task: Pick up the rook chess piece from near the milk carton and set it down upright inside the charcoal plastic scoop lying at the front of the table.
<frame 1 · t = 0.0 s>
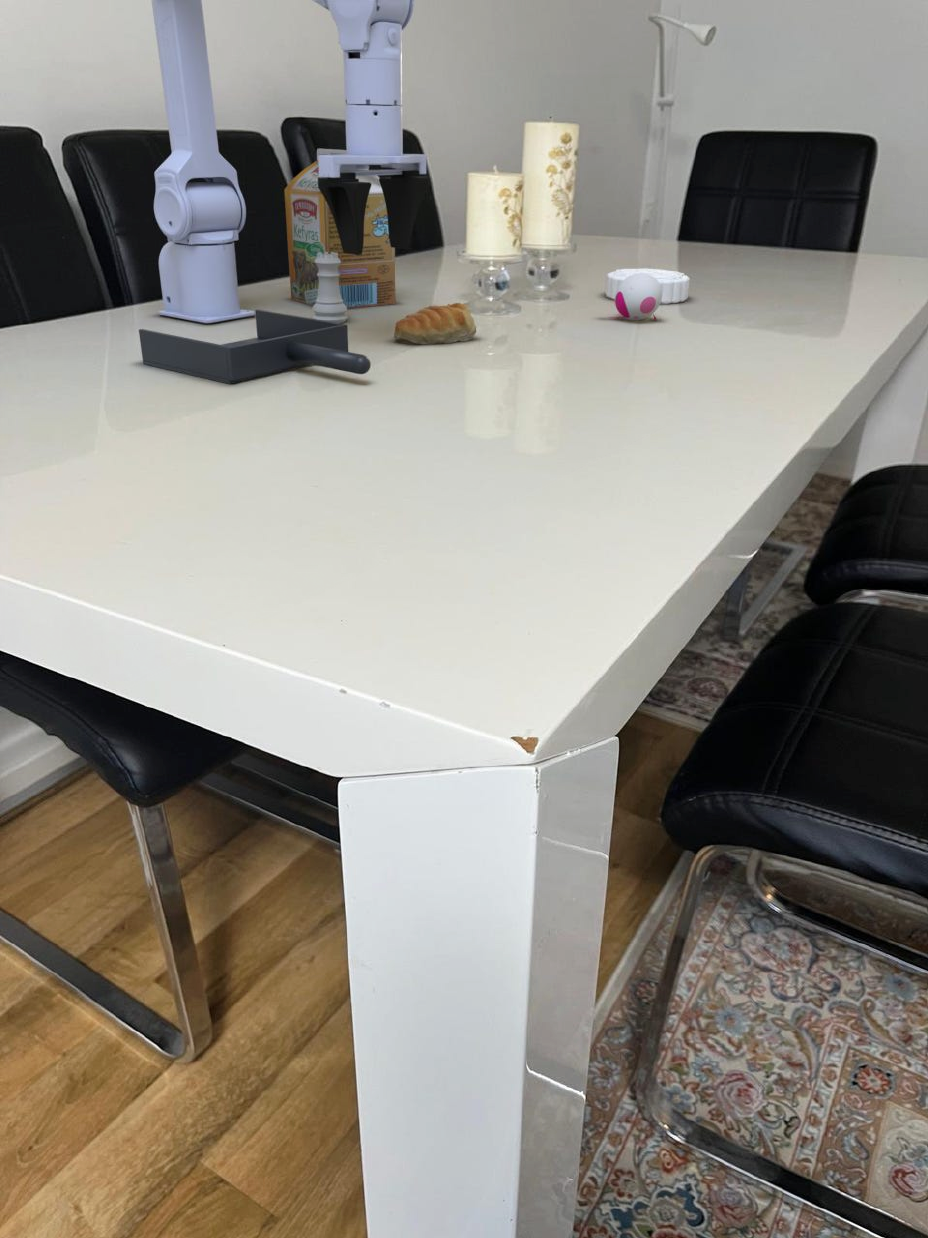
hand: (376, 250, 102), 10 cm above the table, tool pointing down, fingers open, 7 cm apart
pastry: (437, 340, 112), on the table
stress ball: (631, 321, 125), on the table
scoop: (246, 360, 100), on the table
rook chess piece: (330, 322, 121), on the table
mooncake: (645, 298, 142), on the table
milk carton: (343, 302, 134), on the table
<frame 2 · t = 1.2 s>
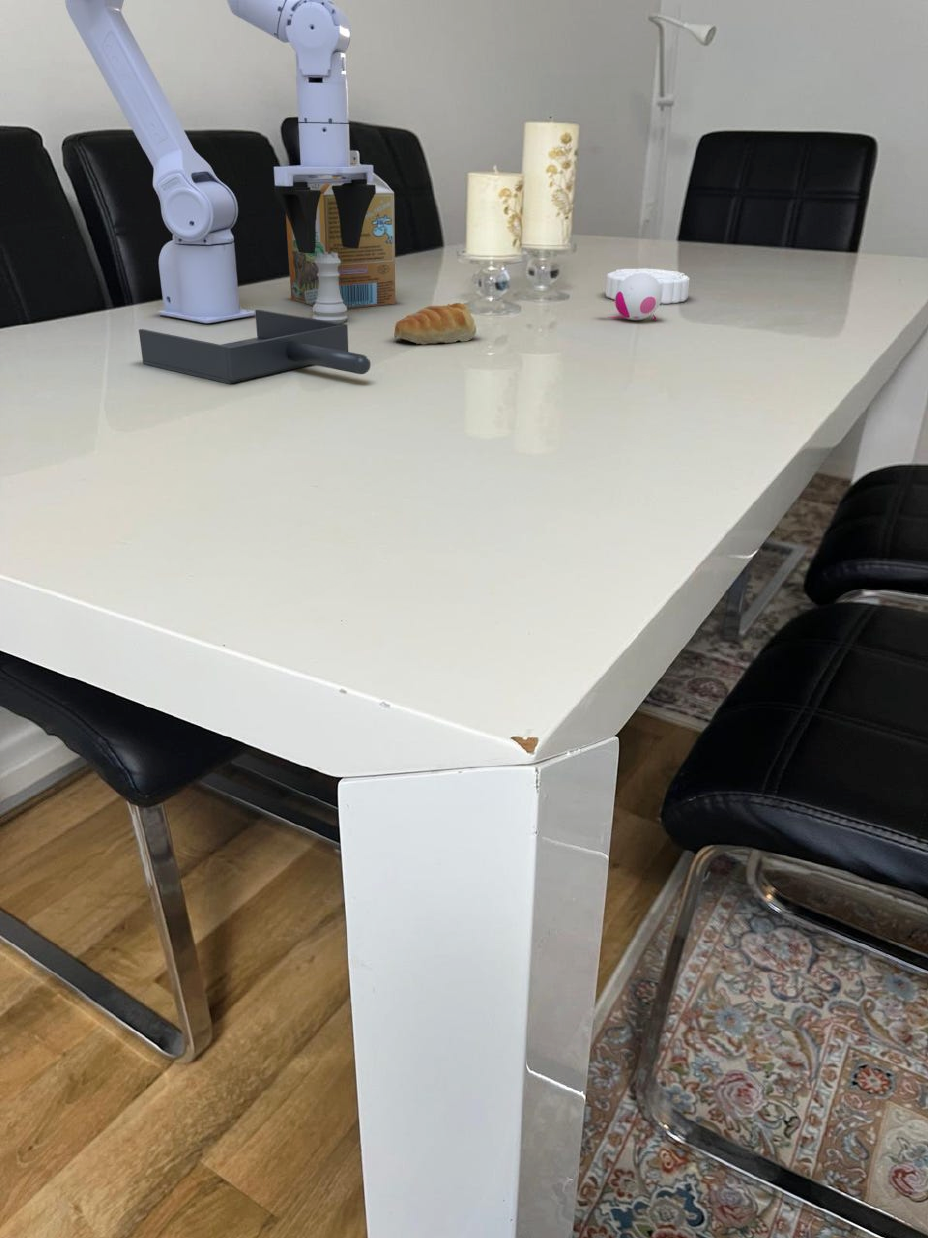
hand: (329, 249, 116), 8 cm above the table, tool pointing down, fingers open, 7 cm apart
nothing on the table moved.
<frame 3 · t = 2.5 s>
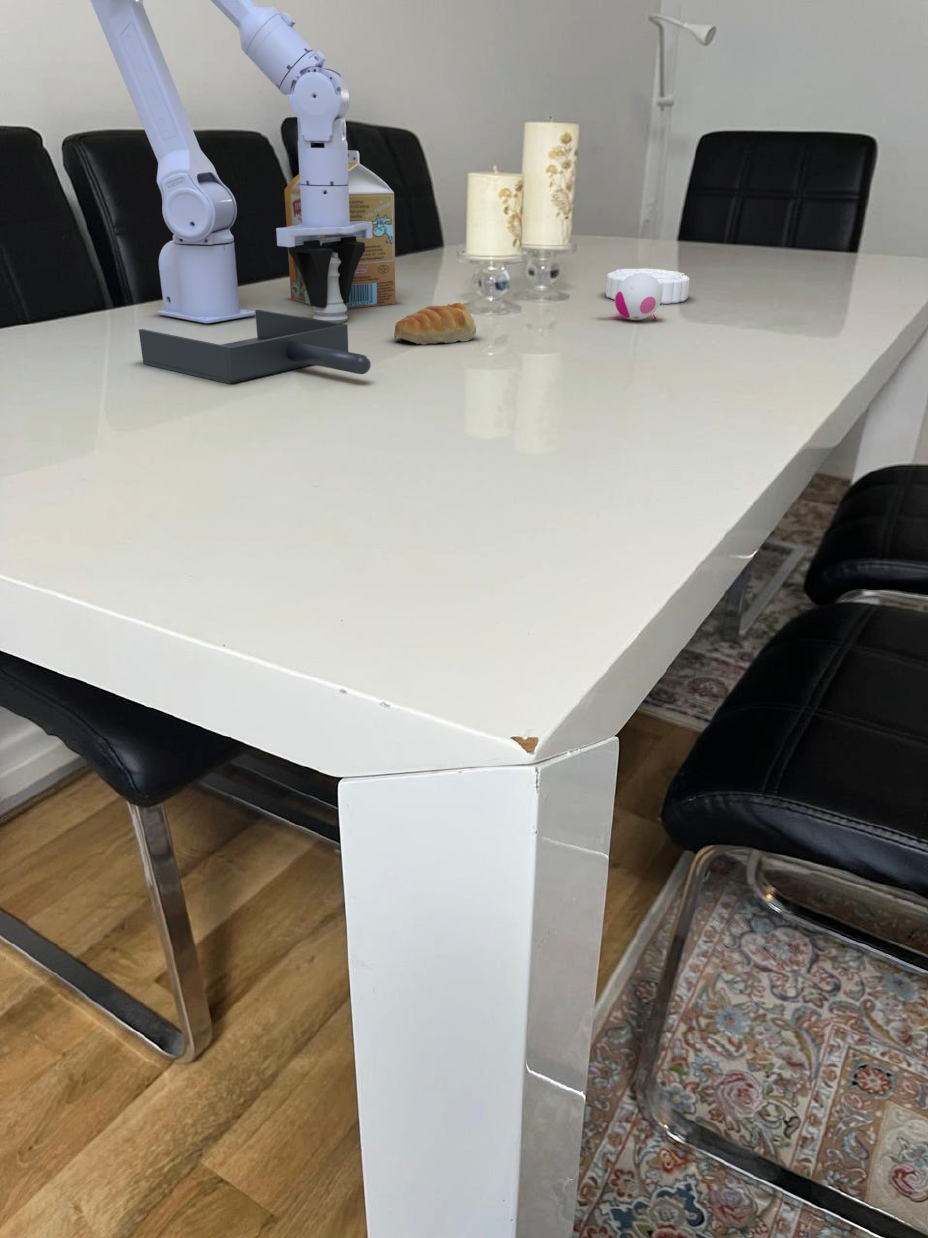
hand: (329, 304, 120), 2 cm above the table, tool pointing down, fingers closed on rook chess piece, 3 cm apart
rook chess piece: (330, 322, 121), on the table, touching gripper
everything else where it was.
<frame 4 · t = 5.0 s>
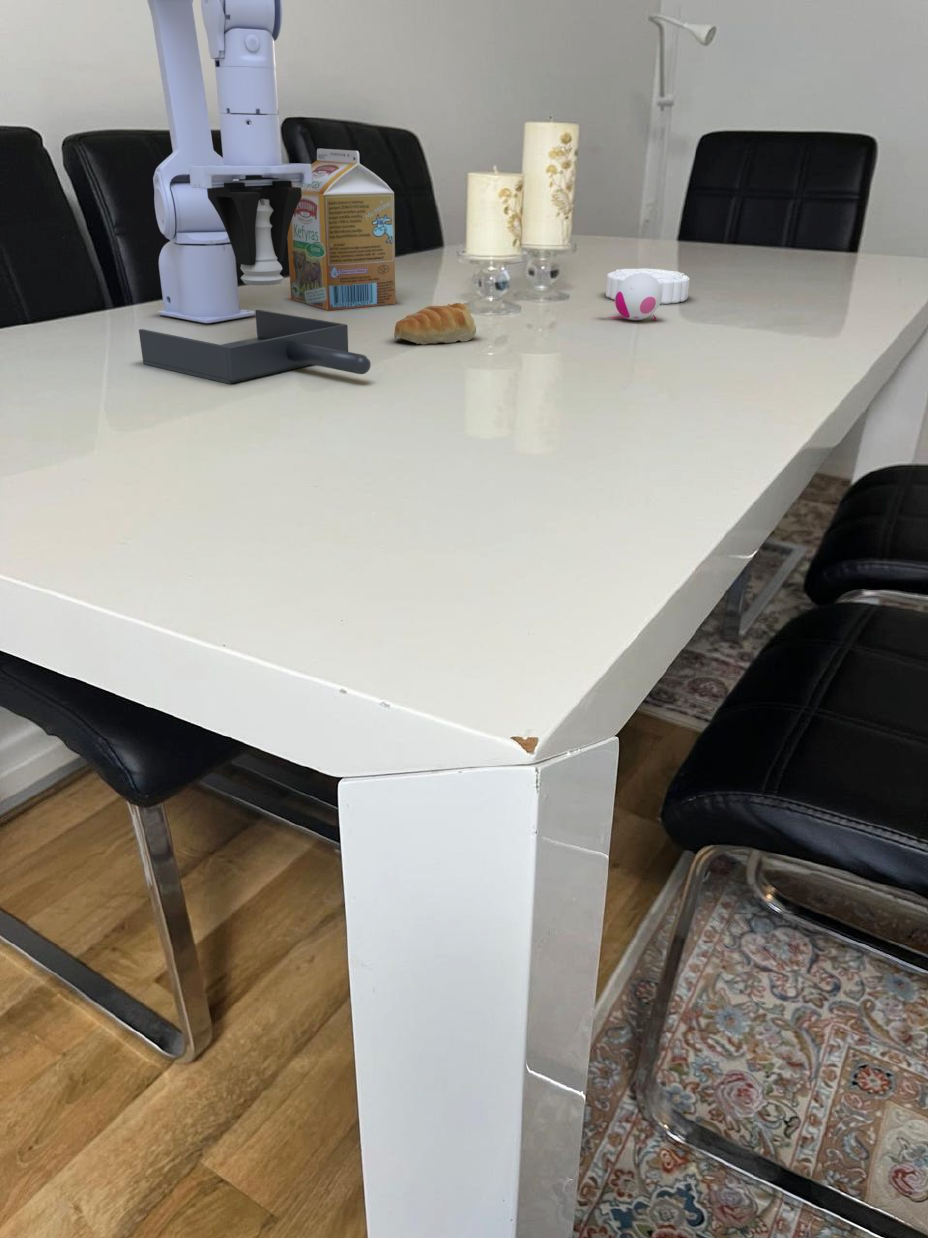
hand: (260, 262, 100), 9 cm above the table, tool pointing down, fingers closed on rook chess piece, 3 cm apart
rook chess piece: (262, 284, 101), point 7 cm above the table, touching gripper
everything else where it was.
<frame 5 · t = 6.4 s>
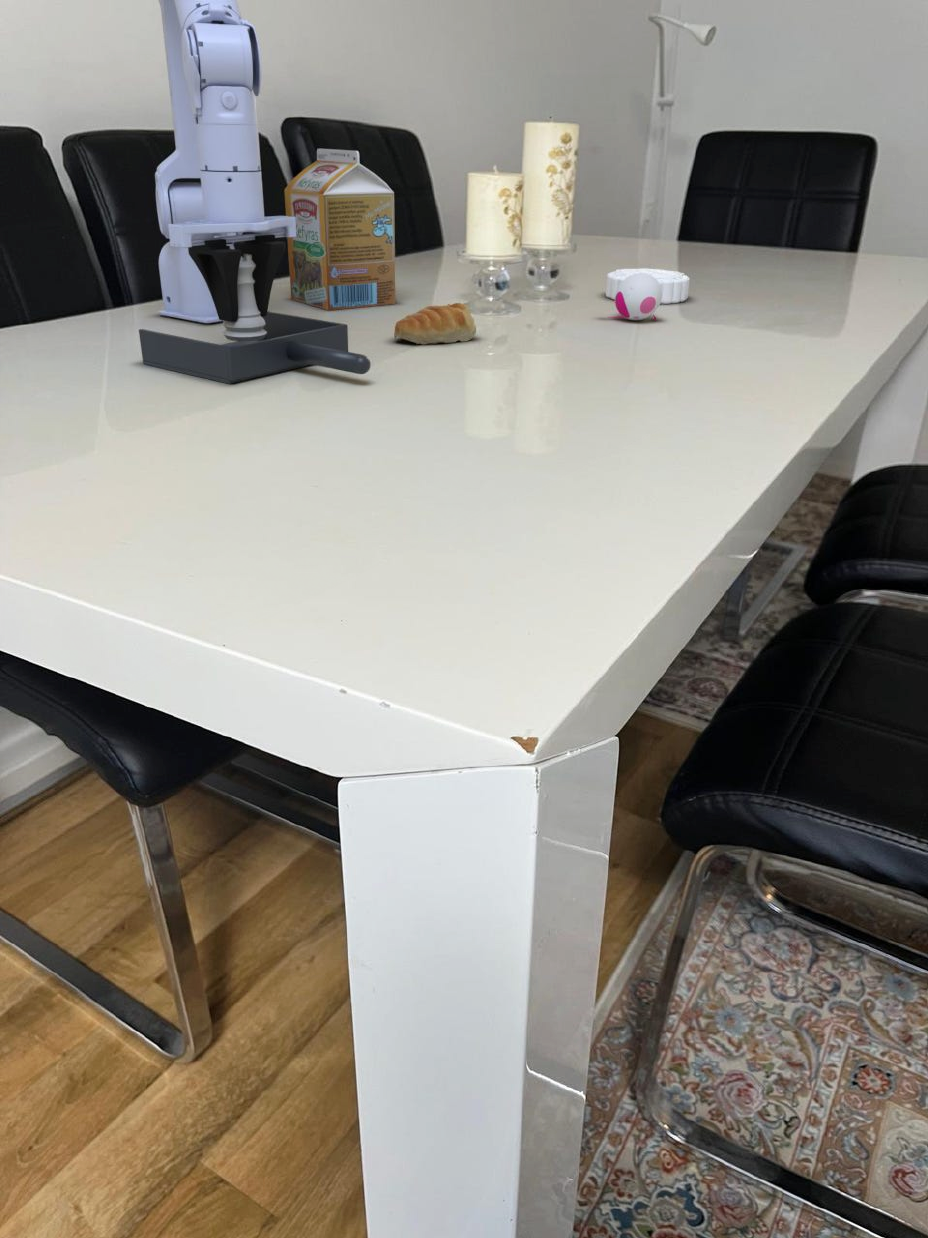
hand: (243, 317, 98), 4 cm above the table, tool pointing down, fingers closed on rook chess piece, 3 cm apart
rook chess piece: (245, 339, 99), point 2 cm above the table, touching gripper
everything else where it was.
when the fingers open (2 cm above the table, at t = 7.4 s): rook chess piece stays where it is, resting on scoop.
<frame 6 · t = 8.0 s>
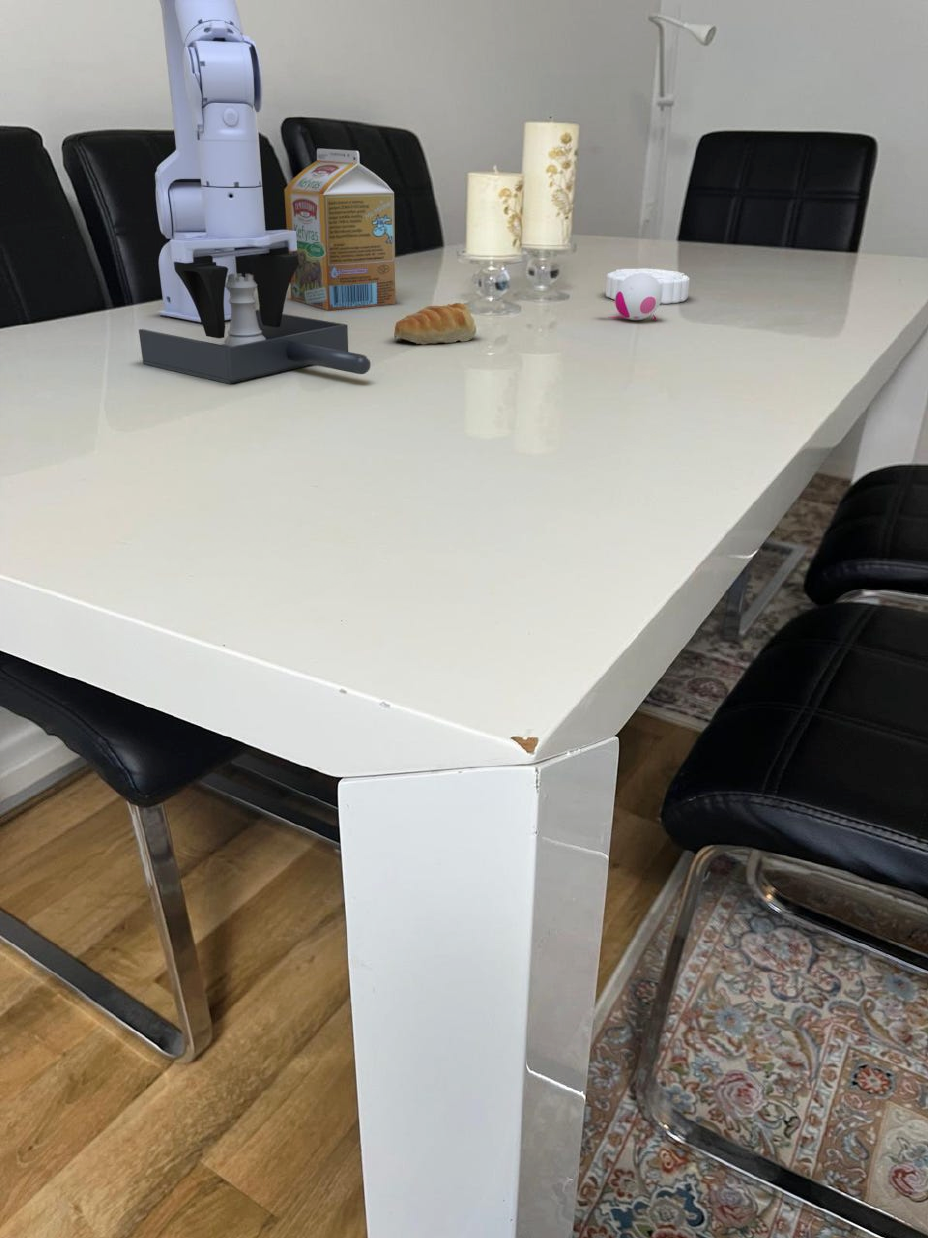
hand: (244, 331, 99), 3 cm above the table, tool pointing down, fingers open, 7 cm apart
rook chess piece: (247, 358, 100), resting on scoop
everything else where it was.
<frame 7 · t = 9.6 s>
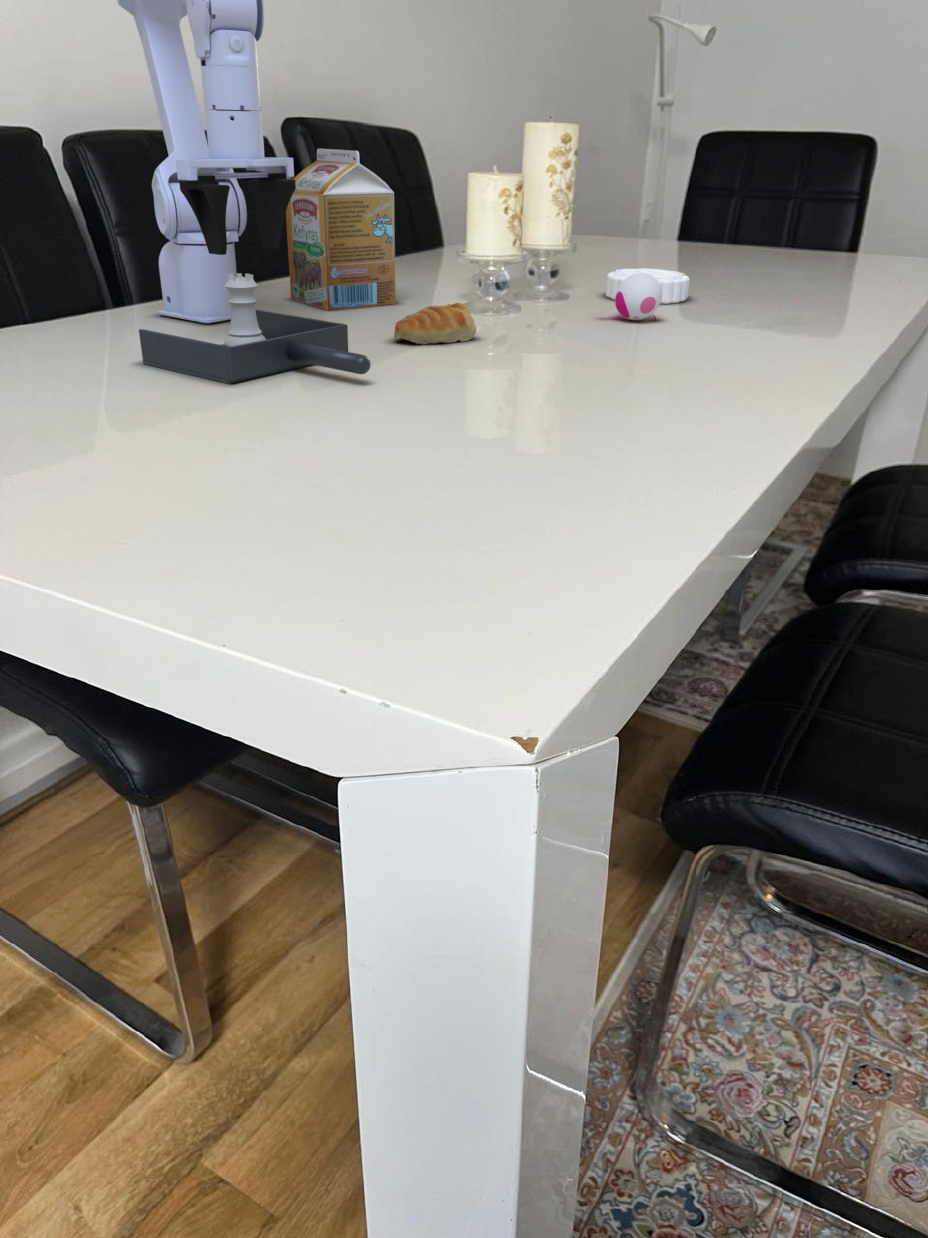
hand: (244, 251, 106), 9 cm above the table, tool pointing down, fingers open, 7 cm apart
nothing on the table moved.
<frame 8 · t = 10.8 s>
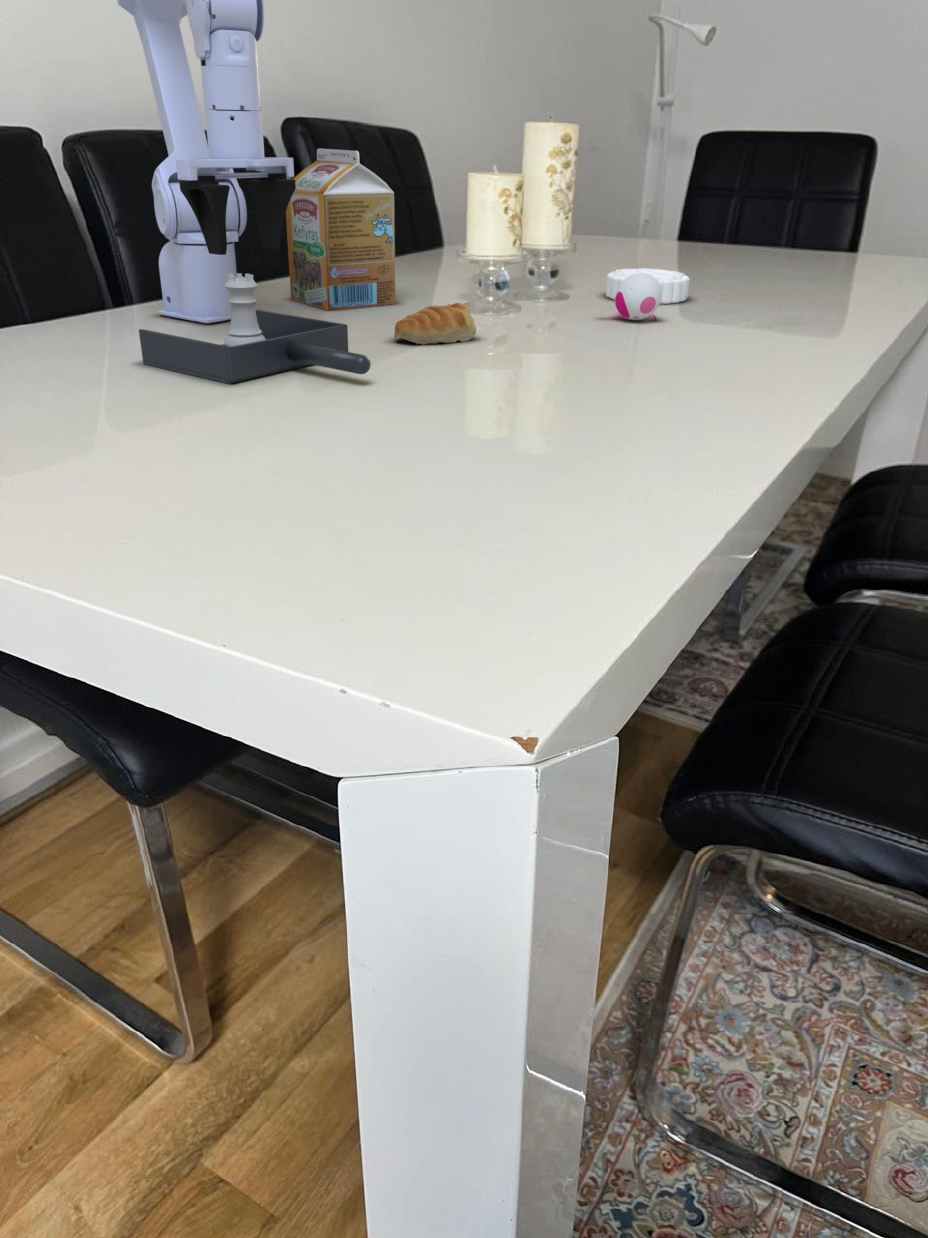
hand: (244, 251, 106), 9 cm above the table, tool pointing down, fingers open, 7 cm apart
nothing on the table moved.
at the end: rook chess piece inside the target area in the scoop (0.1 cm from its centre), point 0.2 cm above the scoop's base; rook chess piece tilted 0° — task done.
